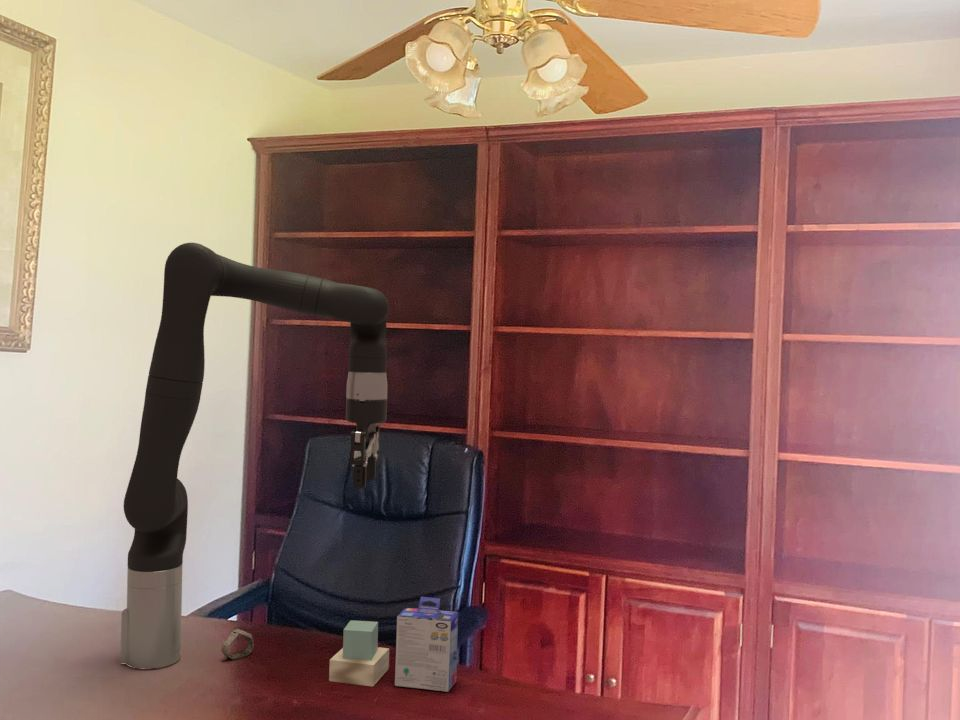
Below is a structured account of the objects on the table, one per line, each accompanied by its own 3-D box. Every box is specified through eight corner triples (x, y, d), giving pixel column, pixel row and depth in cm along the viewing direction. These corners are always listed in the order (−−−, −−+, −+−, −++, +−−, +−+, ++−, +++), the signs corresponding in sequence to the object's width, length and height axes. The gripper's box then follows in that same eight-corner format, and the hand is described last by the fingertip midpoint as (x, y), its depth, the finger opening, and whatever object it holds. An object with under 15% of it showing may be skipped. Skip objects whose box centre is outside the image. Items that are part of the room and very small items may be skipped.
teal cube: (342, 658, 142) (343, 629, 142) (349, 648, 147) (350, 620, 147) (371, 660, 141) (372, 631, 141) (377, 649, 146) (378, 621, 146)
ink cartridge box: (457, 680, 143) (460, 597, 143) (450, 693, 138) (452, 607, 137) (403, 674, 145) (405, 592, 145) (393, 687, 140) (396, 602, 139)
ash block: (329, 682, 141) (329, 659, 141) (346, 665, 149) (347, 643, 149) (372, 688, 139) (373, 665, 139) (388, 670, 147) (389, 648, 147)
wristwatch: (257, 654, 152) (257, 627, 152) (229, 664, 147) (229, 636, 147) (244, 649, 154) (245, 623, 154) (217, 659, 149) (217, 632, 149)
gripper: (355, 393, 160) (353, 476, 160) (337, 398, 146) (335, 489, 146) (393, 395, 159) (391, 478, 159) (379, 399, 145) (376, 491, 145)
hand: (364, 483), depth 153 cm, fingers open, 8 cm apart
